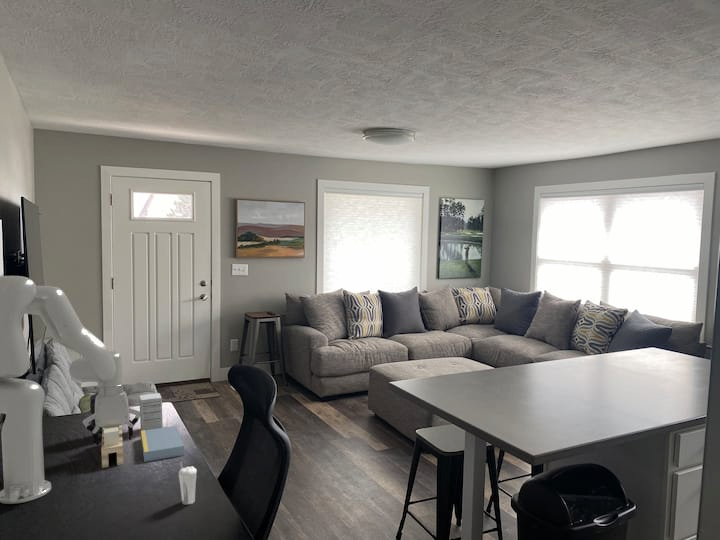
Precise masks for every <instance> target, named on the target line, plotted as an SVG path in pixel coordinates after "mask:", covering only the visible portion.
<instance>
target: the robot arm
mask: <svg viewBox="0 0 720 540" xmlns="http://www.w3.org/2000/svg"><path fill="white" fill-rule="evenodd" d="M24 315H38V316H39V317H40V319H41V320H42V322H43V324H44V325H45V327H46V329H47V330H48V332H49V334H50V335H51V337H52V339H53V340H54V341H55V342H56V343H58V344H59V345H61V346H63V347H65V348H66V349H69V350H71V351H74V352H76V353H77V354H78V355H80V357H78V358H75V359H74V360H73V361H72V362H71V363H70V364H69V368H68V373H69V375H70V376H71V377H72V378H73V380H77V381H79V382H80V381H81V382H91V383H97V386H96V387H97V388H96V389H94V388H92V393H93V394H98V395H97V396H96V399H95V413H94V414H93V415H89V416H88V417H86V418H85V419H83V420H82V424H83V425H84V426H85V428H86V429H87V430H88V431H89V432H91V434H92V433H93V435H94V441H93V443H96V446H99V444H100V441H99V433H98V430H99V428H103V427H110V426H117V425H122V426H123V425H127V429H128V430H127V431H128V435H127V436H128V440H131V441H132V437H134V429H133V428H134V426H136V424H137V423H138V422H139V419H140V415H141V412H140V410H137V409H133V408H130V405H129V400H128V395H127V392H126V391H125V390H124V379H123V378H124V377H123V376H124V375H123V360H122V354H121V353H120V352H119V351H113V350H112V351H110V350H109V348H108V347H107V346H106V344H105V343H104V342H103V341H102V340H101V339H99V337H97V336H96V335H95V334H94V333H92V332H91V331H90V330H89V329H88V328H86V327H85V326H84V325H83V323H82V322H81V320H80V318H79V316H78V314H77V313H76V311H75V309H74V307H73V305H72V303H71V301H70V300H69V298H68V296H67V295H66V294H65V292H64V290H63V289H62V288H60V287H58V286H52V285H36V283H35V281H33V280H32V279H31V278H29V277H26V276H23V275H21V276H20V275H0V414H4V415H5V420H4V422H3V424H2V427H1V433H0V434H1V435H0V436H1V437H0V439H1V451H2V453H1V455H2V472H3V473H2V475H3V476H2V477H3V489H2V490H0V503H2V504H6V505H7V504H8V505H14V504H22V503H26V502H31V501H34V500H36V499H39V498H42V497H43V496H45V495H47V494H48V493H49V492H50V491H51V490H52V483H51V481H48V480H45V465H44V464H45V462H44V458H45V457H44V443H43V442H44V440H43V439H44V438H43V411H44V407H45V397H46V396H45V390H44V388H43V387H42V386H41V385H40V384H39V383H38V382H36V381H33V380H30V379H24V378H23V379H22V378H19V377H22V376H23V375H25V374H26V373H27V372H28V370H29V369H30V365H31V361H30V360H31V359H30V355H29V351H28V347H27V343H26V339H25V335H24V330H23V324H22V323H23V322H22V321H23V316H24ZM130 414H132V415H133V416H134V415H135V417H133V419H132V420H131V419H130V418H131V417H130ZM93 419H95V424H96V425H95V426H94V427H93V426H92V425H91V423H90V422H92V420H93Z"/></svg>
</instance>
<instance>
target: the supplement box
mask: <svg viewBox="0 0 720 540" xmlns="http://www.w3.org/2000/svg"><path fill="white" fill-rule="evenodd" d="M138 399H139V411H140V412H141V415H140V417H139V419H140V422H139V423H140V424H139V425H140V431H142V430H151V429H158V428H164V425H163V424H164V423H163V404H162V403H163V401H162V399H163V397H162V395H161V393H160V392H156V393H148V394H140V395H139V398H138Z"/></svg>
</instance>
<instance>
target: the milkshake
mask: <svg viewBox="0 0 720 540" xmlns="http://www.w3.org/2000/svg"><path fill="white" fill-rule="evenodd" d="M179 465H180V467H181V468H180V470H179V471H178V479H179V480H178V481H179V486H180V487H179V488H180V495H181V503H182V504H183V505H184V506H185V505H188V506H189V505H192V504H194V503H195V502H196V482H197V472H198V471H197V468H195V466H193V465H192V466H186V467H184V466H183V462H182V461H180V462H179Z"/></svg>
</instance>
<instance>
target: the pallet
mask: <svg viewBox="0 0 720 540" xmlns="http://www.w3.org/2000/svg"><path fill="white" fill-rule="evenodd" d="M104 429H105V428H103V430H102V441H101V468H102V469H103V468H109V464H110V463H109V459H110V454H113V453H114V454H115V453H116V464H117V465H116V466H122V465H124V443H123V424H122V425H119V444H117V445H111V446H104Z"/></svg>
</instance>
